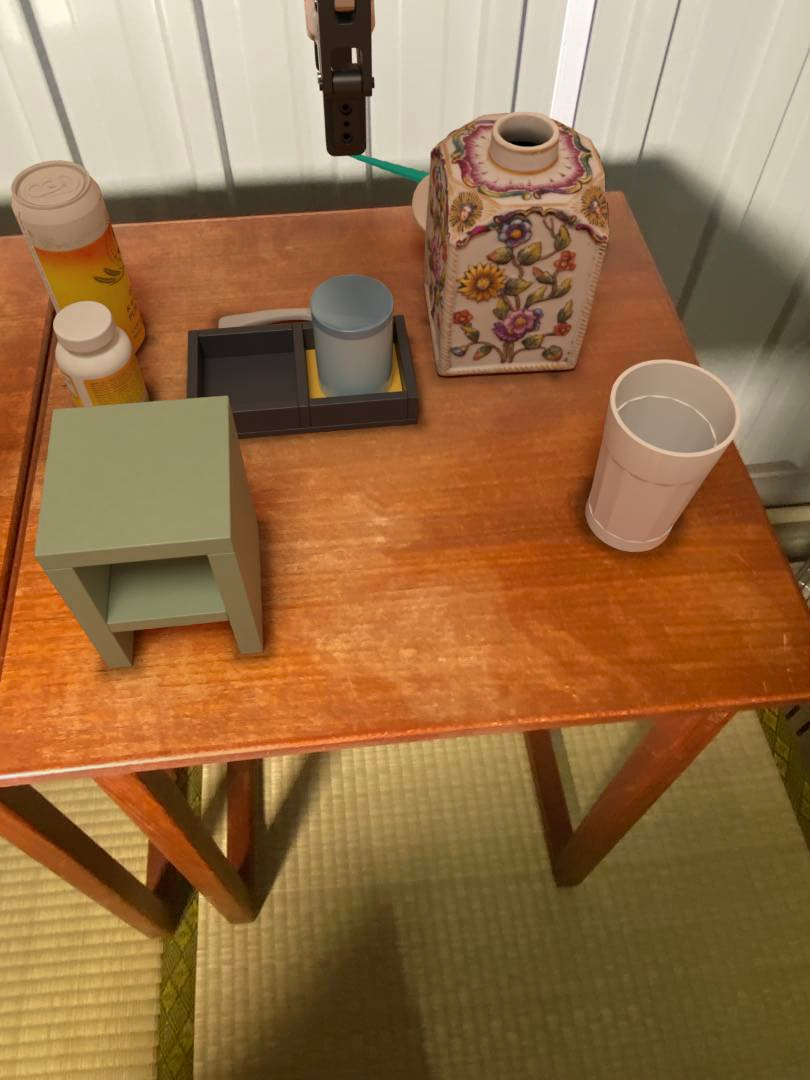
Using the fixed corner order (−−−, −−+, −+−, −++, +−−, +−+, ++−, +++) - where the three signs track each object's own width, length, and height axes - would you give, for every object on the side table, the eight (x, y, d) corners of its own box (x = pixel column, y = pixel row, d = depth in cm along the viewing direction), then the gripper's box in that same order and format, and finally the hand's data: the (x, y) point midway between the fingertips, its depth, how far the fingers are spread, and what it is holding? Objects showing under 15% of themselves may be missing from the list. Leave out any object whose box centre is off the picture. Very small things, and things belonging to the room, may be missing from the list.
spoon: (360, 332, 72) (358, 315, 71) (222, 349, 72) (216, 332, 71) (357, 308, 74) (355, 291, 72) (222, 325, 74) (216, 307, 72)
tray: (194, 442, 65) (186, 416, 63) (195, 358, 70) (187, 329, 67) (417, 424, 67) (418, 397, 64) (403, 342, 71) (403, 314, 69)
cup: (657, 464, 65) (707, 350, 55) (700, 549, 61) (763, 443, 51) (559, 483, 64) (591, 370, 54) (596, 571, 60) (639, 467, 49)
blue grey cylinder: (320, 410, 66) (312, 334, 59) (314, 355, 69) (307, 276, 63) (397, 404, 67) (398, 328, 60) (388, 349, 70) (388, 271, 63)
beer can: (159, 351, 70) (110, 190, 58) (90, 380, 68) (24, 221, 56) (129, 308, 73) (75, 147, 60) (61, 336, 71) (-8, 174, 58)
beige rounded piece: (399, 211, 70) (392, 226, 80) (450, 250, 71) (436, 259, 81) (436, 156, 69) (424, 178, 79) (487, 197, 70) (468, 213, 80)
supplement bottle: (70, 428, 66) (26, 336, 58) (104, 380, 68) (66, 286, 60) (132, 445, 65) (96, 355, 57) (164, 396, 68) (134, 303, 60)
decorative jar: (577, 374, 70) (630, 176, 54) (437, 381, 69) (451, 184, 54) (550, 277, 76) (591, 76, 61) (422, 283, 75) (431, 81, 60)
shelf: (109, 669, 55) (33, 556, 43) (117, 540, 60) (52, 408, 48) (263, 652, 56) (230, 537, 44) (258, 527, 61) (228, 394, 49)
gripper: (231, -314, 39) (270, 48, 53) (237, -203, 31) (280, 187, 45) (392, -314, 40) (389, 43, 53) (436, -205, 32) (420, 180, 46)
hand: (339, 109), depth 49 cm, fingers open, 8 cm apart
